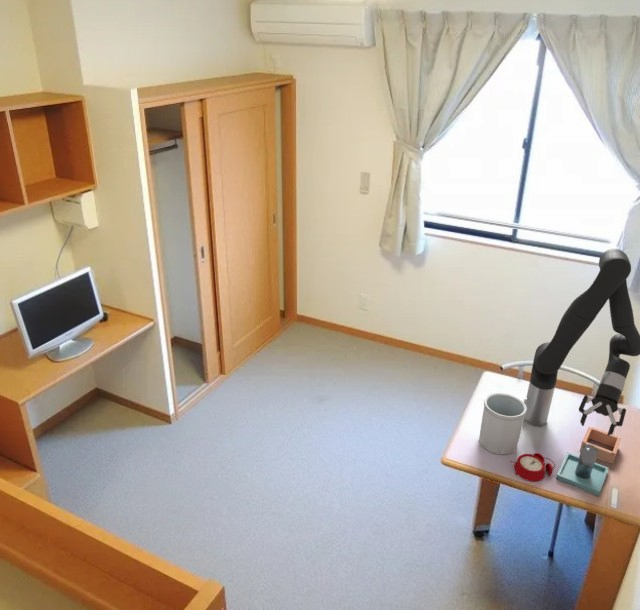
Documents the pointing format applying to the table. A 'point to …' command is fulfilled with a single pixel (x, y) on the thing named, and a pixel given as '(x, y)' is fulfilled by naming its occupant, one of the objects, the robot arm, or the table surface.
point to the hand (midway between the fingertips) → (595, 430)
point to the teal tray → (588, 485)
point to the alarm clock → (532, 467)
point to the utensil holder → (502, 423)
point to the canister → (586, 461)
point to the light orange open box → (605, 439)
